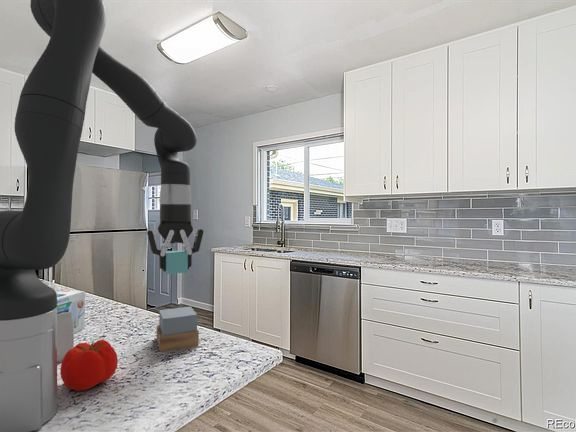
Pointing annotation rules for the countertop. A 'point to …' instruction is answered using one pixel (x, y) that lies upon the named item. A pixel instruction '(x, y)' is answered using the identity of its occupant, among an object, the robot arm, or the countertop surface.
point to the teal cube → (176, 262)
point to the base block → (177, 340)
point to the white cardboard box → (64, 334)
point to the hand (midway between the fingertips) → (175, 269)
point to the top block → (177, 320)
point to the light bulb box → (72, 307)
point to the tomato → (88, 365)
